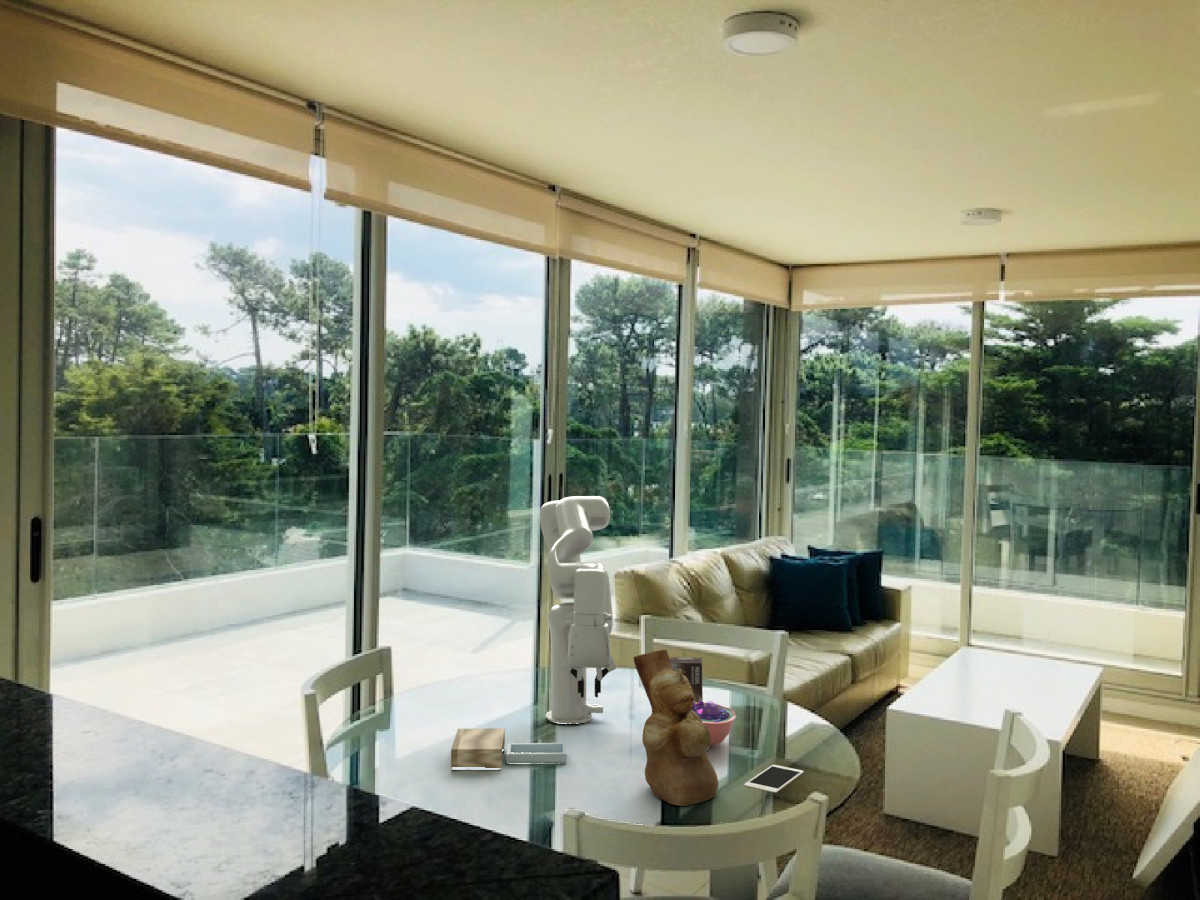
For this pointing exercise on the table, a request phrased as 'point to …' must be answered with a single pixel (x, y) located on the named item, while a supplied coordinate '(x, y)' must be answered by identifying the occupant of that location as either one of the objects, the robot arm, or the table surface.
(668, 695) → the ceramic vessel
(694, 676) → the coffee box
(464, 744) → the wooden block
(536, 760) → the grey shallow tray
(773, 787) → the cell phone
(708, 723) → the cell model
